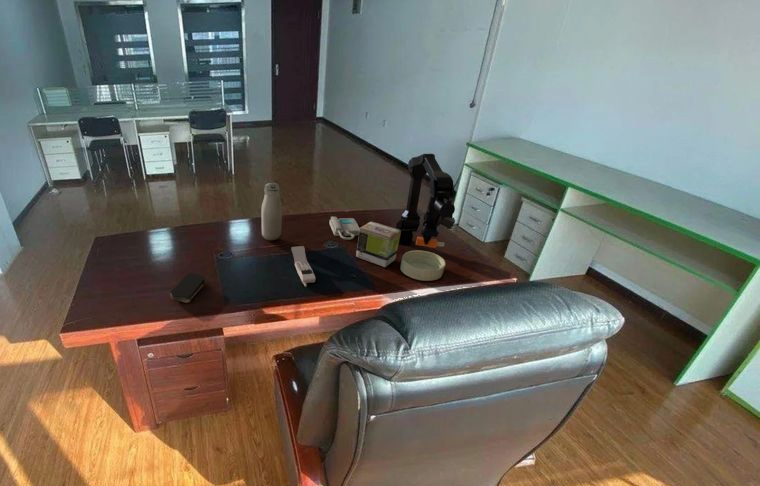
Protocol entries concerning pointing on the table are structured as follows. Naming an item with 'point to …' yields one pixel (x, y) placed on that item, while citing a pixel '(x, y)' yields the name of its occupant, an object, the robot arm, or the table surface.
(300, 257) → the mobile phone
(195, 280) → the black sponge
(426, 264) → the bowl
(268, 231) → the white water bottle
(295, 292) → the table surface
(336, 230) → the intercom
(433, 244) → the knife
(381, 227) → the tea box
